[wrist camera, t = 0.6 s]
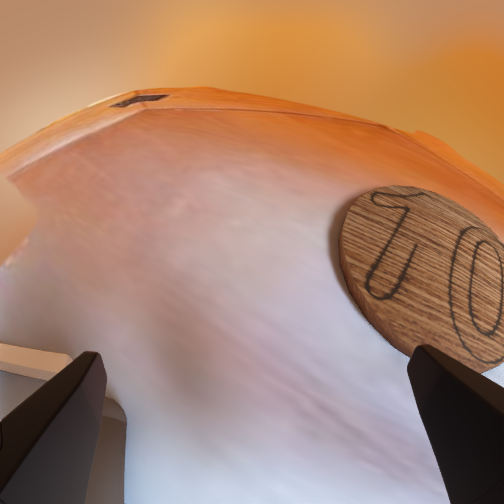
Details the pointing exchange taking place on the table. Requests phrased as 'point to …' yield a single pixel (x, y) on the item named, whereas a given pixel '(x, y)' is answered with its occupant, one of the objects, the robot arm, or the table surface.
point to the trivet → (426, 274)
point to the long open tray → (32, 361)
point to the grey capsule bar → (109, 457)
